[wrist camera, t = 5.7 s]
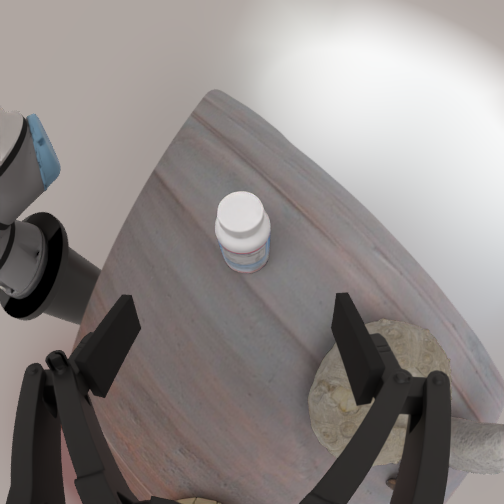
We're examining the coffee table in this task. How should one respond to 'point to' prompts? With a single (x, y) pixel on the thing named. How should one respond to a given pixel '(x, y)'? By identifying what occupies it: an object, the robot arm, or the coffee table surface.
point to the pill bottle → (243, 232)
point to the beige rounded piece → (351, 416)
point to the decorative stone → (476, 446)
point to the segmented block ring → (197, 501)
